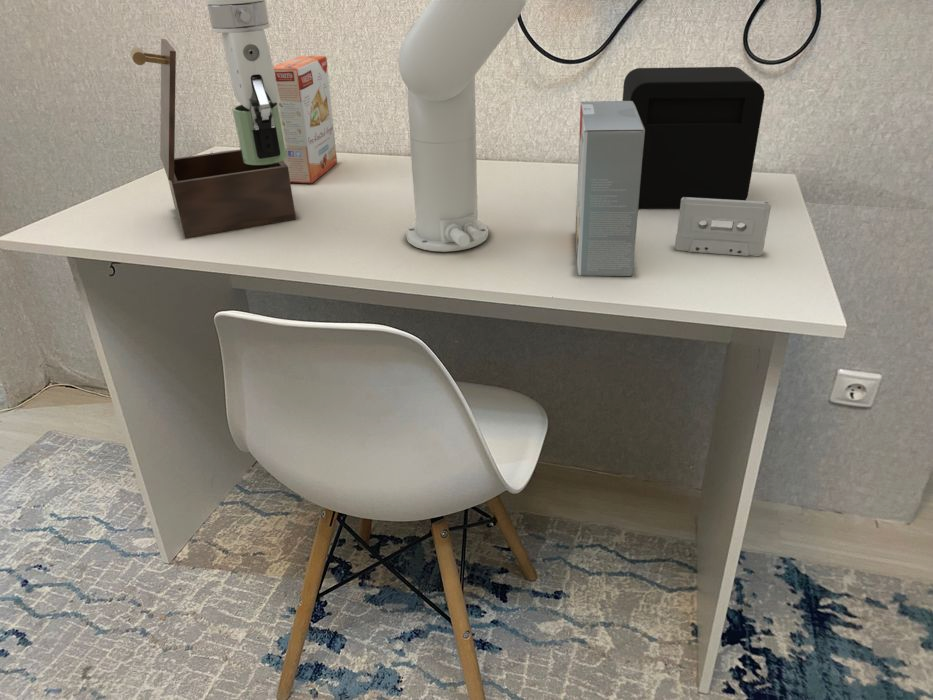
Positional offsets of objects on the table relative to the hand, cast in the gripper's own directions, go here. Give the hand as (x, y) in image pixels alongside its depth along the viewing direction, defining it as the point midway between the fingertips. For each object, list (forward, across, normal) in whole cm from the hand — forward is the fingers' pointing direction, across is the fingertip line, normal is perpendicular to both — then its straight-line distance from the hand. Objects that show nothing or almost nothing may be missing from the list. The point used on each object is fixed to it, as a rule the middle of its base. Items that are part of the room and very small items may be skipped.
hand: (263, 150), depth 108 cm
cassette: (+16, -35, -55) cm, 67 cm away
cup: (+1, 0, 0) cm, 1 cm away
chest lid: (-5, +16, +11) cm, 20 cm away
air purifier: (+15, -12, -66) cm, 69 cm away
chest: (+14, +16, +4) cm, 22 cm away
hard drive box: (+15, -28, -40) cm, 52 cm away
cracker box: (+14, +33, -14) cm, 38 cm away
